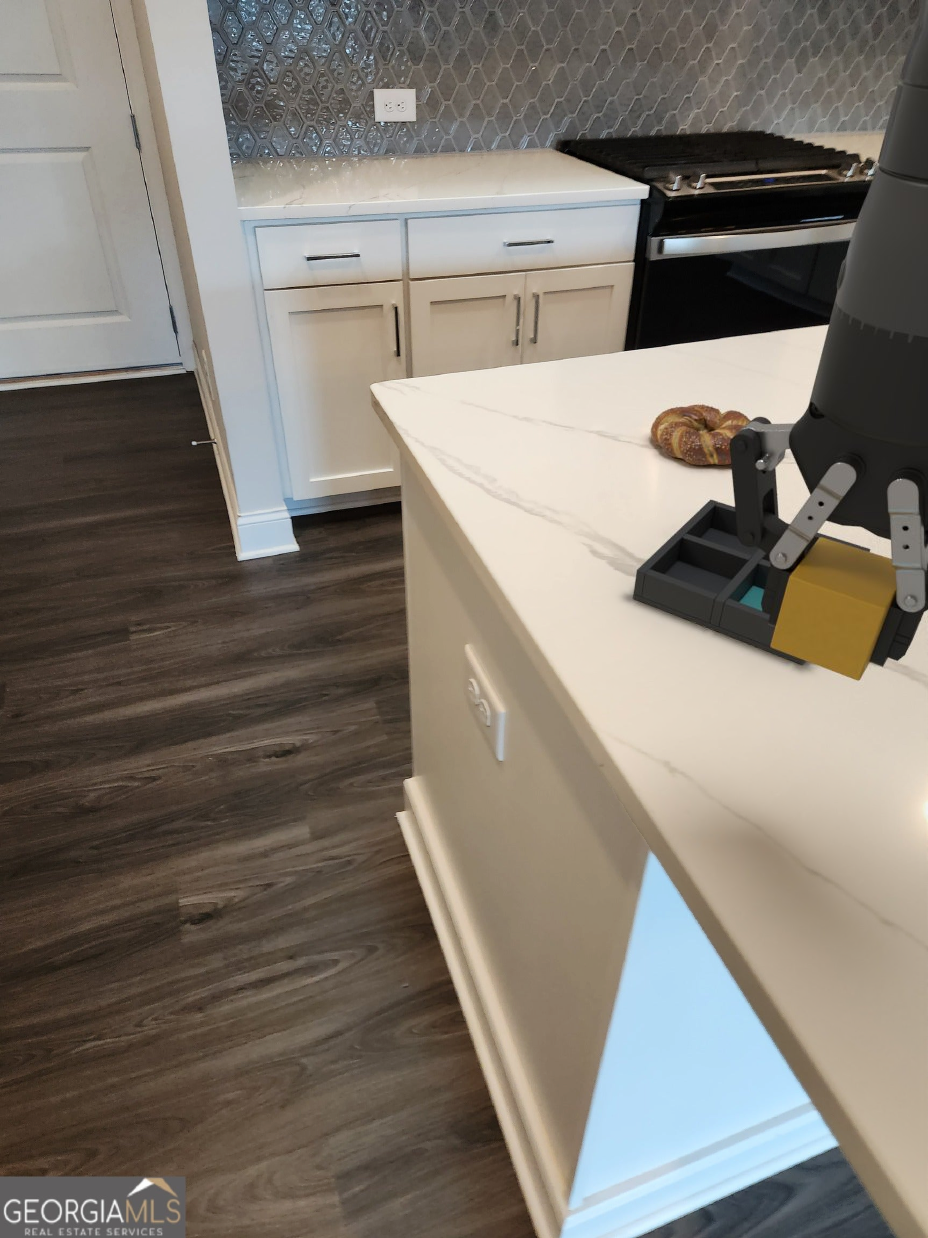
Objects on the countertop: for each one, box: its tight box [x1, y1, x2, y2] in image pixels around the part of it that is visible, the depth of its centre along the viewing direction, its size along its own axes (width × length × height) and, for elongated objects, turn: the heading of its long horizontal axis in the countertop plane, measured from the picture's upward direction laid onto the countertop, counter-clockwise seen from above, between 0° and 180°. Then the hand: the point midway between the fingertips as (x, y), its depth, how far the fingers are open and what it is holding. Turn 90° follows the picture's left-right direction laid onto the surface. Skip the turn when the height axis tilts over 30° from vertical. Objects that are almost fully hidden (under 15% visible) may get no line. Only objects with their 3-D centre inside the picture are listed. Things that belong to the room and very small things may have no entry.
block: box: [771, 537, 896, 682], centre depth 42 cm, size 4×4×4 cm
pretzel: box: [650, 403, 752, 466], centre depth 93 cm, size 12×11×4 cm
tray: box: [632, 499, 871, 666], centre depth 71 cm, size 15×15×3 cm
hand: (828, 636), depth 43 cm, fingers closed on block, 4 cm apart
